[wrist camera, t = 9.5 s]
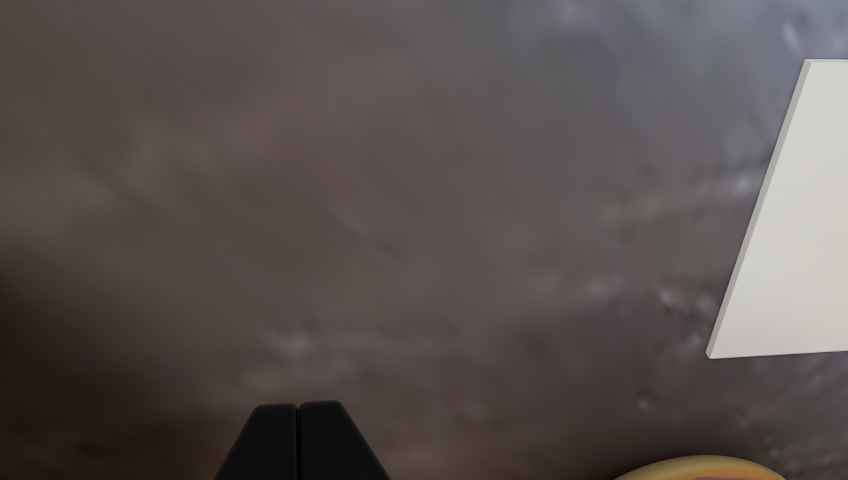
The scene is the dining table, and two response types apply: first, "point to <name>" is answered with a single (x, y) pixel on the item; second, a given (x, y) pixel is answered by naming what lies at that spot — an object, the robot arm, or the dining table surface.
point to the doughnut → (702, 469)
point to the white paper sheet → (796, 233)
